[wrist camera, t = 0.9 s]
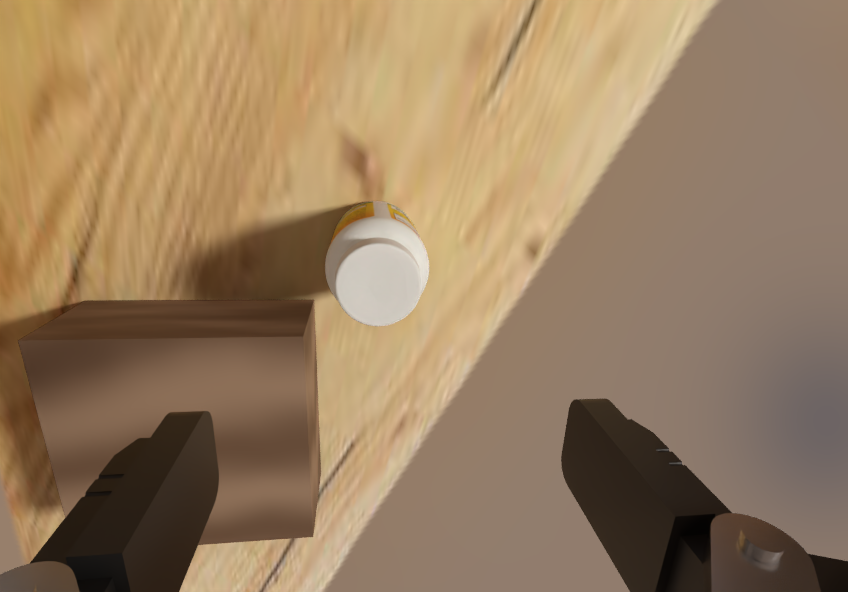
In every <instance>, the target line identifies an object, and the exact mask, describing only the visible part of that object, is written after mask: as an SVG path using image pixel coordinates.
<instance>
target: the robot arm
mask: <svg viewBox="0 0 848 592" xmlns="http://www.w3.org/2000/svg"><path fill="white" fill-rule="evenodd" d="M561 458H562V459H561V461H562V471H563V475H564V478H565V481H566V483H567V485H568V487H569V488H570V490H571V492H572V494H573V495H574V497H575V499H576V500H577V502H578V504H579V505H580V507H581V509H582V511H583V512H584V514H585V515H586V517H587V519H588V521H589V522H590V524H591V526H592V527H593V529H594V531H595V533H596V534H597V536H598V538H599V539H600V541H601V543H602V544H603V546H604V548H605V549H606V551H607V553H608V555H609V556H610V558H611V560H612V562H613V563H614V565H615V567H616V568H617V570H618V572H619V573H620V575H621V577H622V579H623V580H624V582H625V584H626V585H627V587H628V589H629V590H630V592H848V561H843V560H837V559H832V558H827V557H822V556H817V555H811V554H808V553H807V552H806V551H805V550H804V548H803V547H802V546H801V545H800V544H799V543H798V542H797V541H795V540H794V539H793V538H792V537H791V536H789V535H788V534H787V533H785V532H784V531H782V530H781V529H779V528H777V527H775V526H773V525H771V524H770V523H768V522H765V521H763V520H761V519H758V518H755V517H752V516H749V515H744V514H738V513H732V512H731V511H730V510H728V508H727V507H726V506H725V505H724V504H723V503H722V502H721V501H720V500H719V499H718V498H717V497H716V496H715V495H714V494H713V493H712V492H711V491H710V490H709V489H708V488H707V487H706V486H705V485H704V484H703V483H702V482H701V481H700V480H699V479H698V478H697V477H696V476H695V475H694V474H693V473H692V472H691V471H690V470H689V469H688V468H687V467H686V466H685V465H682V461H681V460H679V458H678V457H677V456H676V455H675V454H674V453H673V452H669V448H668V447H667V446H666V445H665V444H664V443H663V442H662V441H661V440H660V439H659V438H658V437H657V436H656V435H655V434H654V433H653V432H651V431H650V430H648V429H646V428H645V427H643V426H641V425H640V424H638V423H636V422H635V421H633V420H632V419H631V420H627V418H626V417H625V416H624V415H623V414H622V413H621V412H620V411H619V410H618V409H617V408H616V407H615V406H614V405H613V404H612V403H611V402H610V401H609V400H608V399H582V400H581V399H580V400H574V401H573V402H572V403H571V405H570V408H569V413H568V419H567V425H566V432H565V437H564V444H563V450H562V457H561ZM218 486H219V469H218V461H217V453H216V445H215V437H214V429H213V421H212V416H211V414H210V412H208V411H191V412H170V413H168V414H167V415H166V416H165V417H164V419H163V420H162V422H161V423H160V425H159V426H158V427H157V429H156V430H155V432H154V433H153V434H152V436H151V437H150V438H138V439H137V440H135V441H134V442H132V443H131V444H130V445H128V446H127V447H125V448H124V449H123V450H121V451H120V452H118V453H117V454H115V455H114V456H113V458H112V459H111V460H110V462H109V463H108V464H107V465H106V467H105V468H104V469H103V470H102V472H101V473H100V474H99V478H98V479H95V481H94V482H93V483H92V485H91V486H90V487H89V488H88V490H87V491H86V492H85V497H81V499H80V500H79V501H78V502H77V504H76V505H75V506H74V508H73V509H72V510H71V511H70V513H69V514H68V515H67V516H66V518H65V519H64V520H63V522H62V523H61V524H60V525H59V527H58V528H57V529H56V531H55V532H54V533H53V534H52V536H51V537H50V538H49V539H48V541H47V542H46V543H45V545H44V546H43V547H42V548H41V550H40V551H39V552H38V554H37V555H36V556H35V557H34V559H33V560H32V561H31V562H30V564H26V565H23V566H20V567H17V568H14V569H12V570H9V571H7V572H5V573H3V574H1V575H0V592H179V590H180V588H181V585H182V583H183V580H184V578H185V575H186V573H187V571H188V568H189V566H190V563H191V561H192V558H193V556H194V553H195V551H196V548H197V546H198V543H199V541H200V538H201V536H202V534H203V531H204V529H205V526H206V524H207V521H208V519H209V516H210V514H211V511H212V509H213V506H214V504H215V501H216V497H217V492H218Z"/></svg>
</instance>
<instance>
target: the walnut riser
mask: <svg viewBox="0 0 848 592" xmlns="http://www.w3.org/2000/svg"><path fill="white" fill-rule="evenodd" d="M18 343H19V346H20V350H21V354H22V358H23V361H24V365H25V369H26V373H27V376H28V380H29V384H30V387H31V391H32V395H33V399H34V402H35V406H36V410H37V414H38V417H39V421H40V425H41V429H42V432H43V436H44V440H45V444H46V447H47V451H48V455H49V459H50V462H51V466H52V470H53V474H54V477H55V481H56V485H57V489H58V492H59V496H60V500H61V504H62V507H63V511H64V515H65V518H66V516H67V515H68V514H69V513H70V511H71V510H72V509H73V508H74V506H75V505H76V504H77V502H78V501H79V500H80V499H81V497H85V492H86V491H87V490H88V488H89V487H90V486H91V485H92V483H93V482H94V481H95V479H98V478H99V474H100V473H101V472H102V470H103V469H104V468H105V467H106V465H107V464H108V463H109V462H110V460H111V459H112V458H113V456H114V455H115V454H117V453H118V452H120V451H121V450H123V449H124V448H125V447H127V446H128V445H130V444H131V443H132V442H134V441H135V440H137V439H138V438H150V437H151V436H152V434H153V433H154V432H155V430H156V429H157V427H158V426H159V425H160V423H161V422H162V420H163V419H164V417H165V416H166V415H167V414H168V413H170V412H191V411H208V412H210V414H211V416H212V421H213V429H214V437H215V445H216V453H217V461H218V469H219V486H218V492H217V497H216V501H215V504H214V506H213V509H212V511H211V514H210V516H209V519H208V521H207V524H206V526H205V529H204V531H203V534H202V536H201V538H200V541H199V543H198V545H203V544H217V543H231V542H246V541H260V540H274V539H288V538H302V537H313V533H314V525H315V517H316V508H317V500H318V492H319V484H320V476H321V463H320V437H319V412H318V386H317V361H316V335H315V310H314V300H139V301H84V302H82V303H80V304H79V305H77V306H75V307H74V308H72V309H70V310H69V311H67V312H65V313H64V314H62V315H60V316H59V317H57V318H55V319H54V320H52V321H50V322H48V323H47V324H45V325H43V326H42V327H40V328H38V329H37V330H35V331H33V332H32V333H30V334H28V335H27V336H25V337H23V338H22V339H20V340H18Z"/></svg>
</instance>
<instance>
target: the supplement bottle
mask: <svg viewBox="0 0 848 592" xmlns="http://www.w3.org/2000/svg"><path fill="white" fill-rule="evenodd" d="M325 275H326V280H327V283H328V286H329V288H330V290H331V292H332V294H333V295H334V297H335V298H336V299H337V300H338V302H339V303H340V305H341V307H342V308H343V310H344V311H345V312H346V313H347V314H348V315H349V316H350V317H352V318H353V319H354V320H356V321H358V322H360V323H363V324H366V325H370V326H386V325H390V324H394V323H396V322H398V321H400V320H402V319H403V318H405V317H406V316H407V315H408V314H409V313H410V312H411V311H412V310H413V309H414V308H415V306H416V304H417V302H418V300H419V298H420V295H421V294H422V292H423V291H424V288H425V286H426V284H427V280H428V275H429V259H428V255H427V251H426V249H425V246H424V244H423V242H422V240H421V238H420V236H419V234H418V232H417V231H416V228H415V227H414V225H413V223H412V221H411V220H410V218H409V217H408V216H407V215H406V214H405V213H404V212H403V211H402V210H401V209H399V208H398V207H396V206H394V205H392V204H390V203H387V202H382V201H369V202H364V203H361V204H359V205H356V206H355V207H353V208H351V209H350V210H349V211H348V212H346V213H345V214H344V215H343V217H342V218H341V219H340V221H339V222H338V224H337V226H336V228H335V231H334V234H333V237H332V240H331V243H330V246H329V249H328V252H327V255H326V260H325Z"/></svg>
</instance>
